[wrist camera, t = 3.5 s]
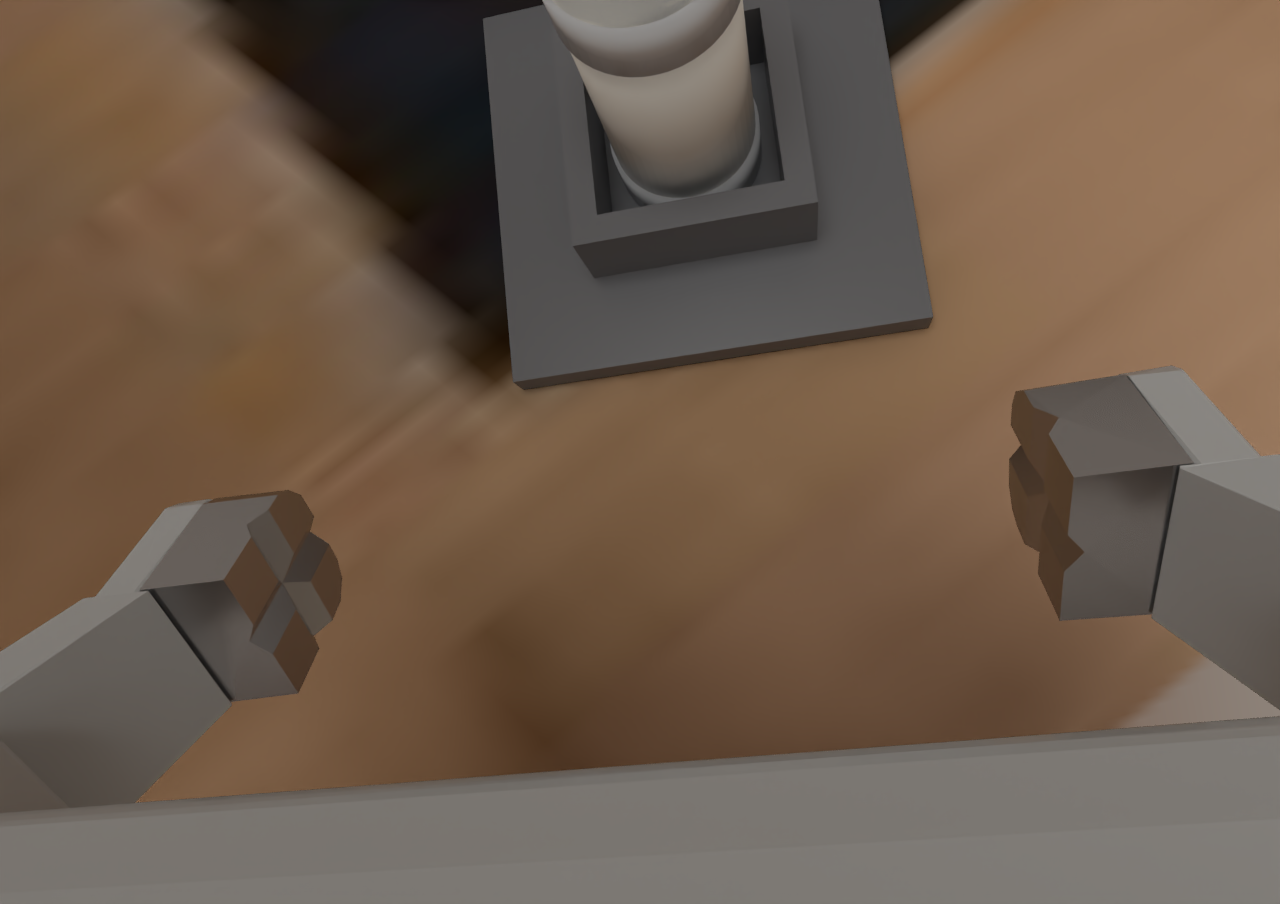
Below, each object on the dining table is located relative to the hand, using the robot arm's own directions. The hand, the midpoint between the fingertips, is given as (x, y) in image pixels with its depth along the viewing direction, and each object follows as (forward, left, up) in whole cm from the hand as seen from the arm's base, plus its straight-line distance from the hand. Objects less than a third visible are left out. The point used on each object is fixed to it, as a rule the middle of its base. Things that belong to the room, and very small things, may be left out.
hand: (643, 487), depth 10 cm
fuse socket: (0, +12, -15) cm, 19 cm away
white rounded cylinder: (0, +12, -14) cm, 18 cm away
